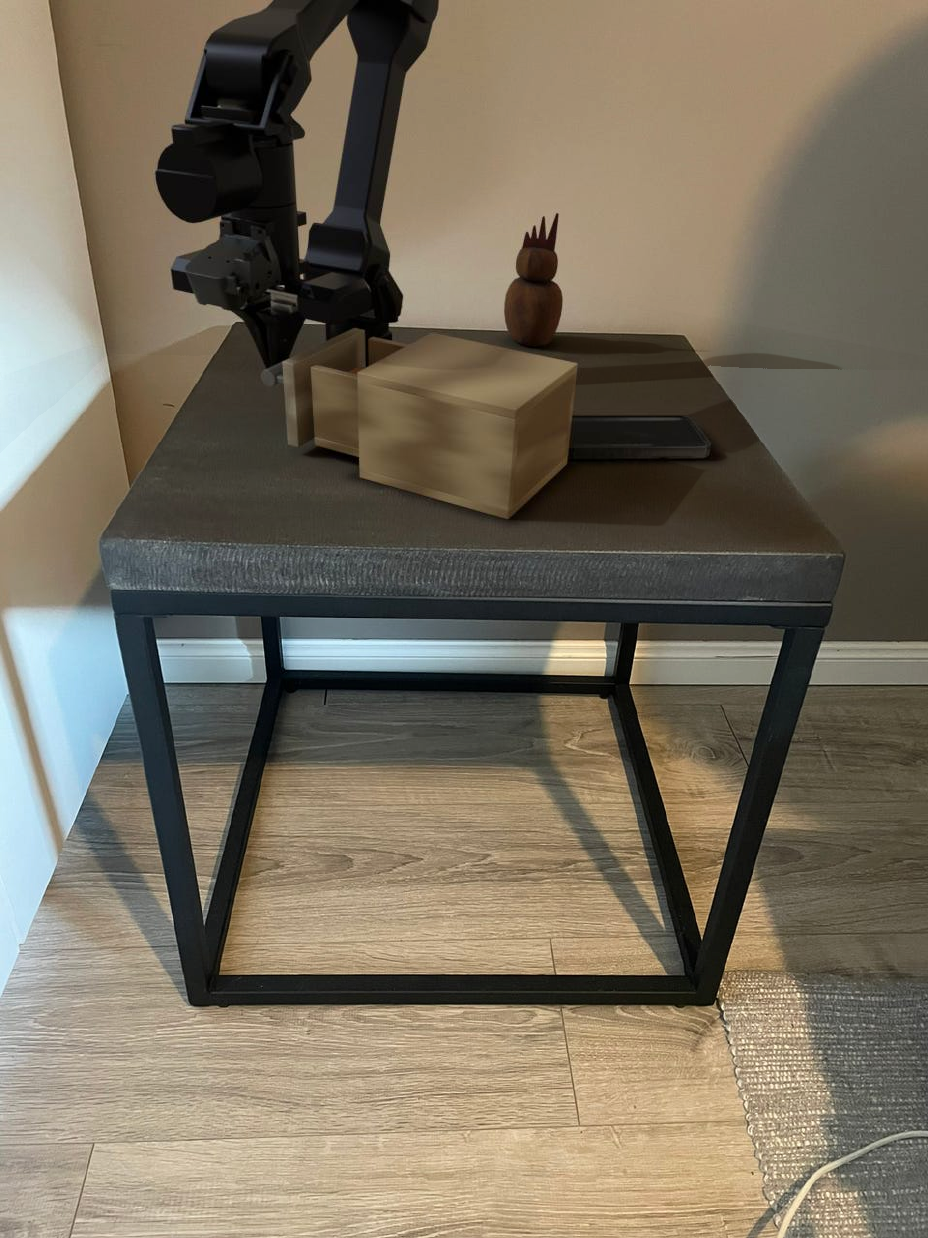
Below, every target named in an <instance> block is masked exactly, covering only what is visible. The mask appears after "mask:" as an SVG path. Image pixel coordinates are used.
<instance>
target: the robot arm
mask: <svg viewBox="0 0 928 1238" xmlns="http://www.w3.org/2000/svg"><path fill="white" fill-rule="evenodd" d="M439 3H440V0H272V1H271V2H270V3H269V4H268V5H267V7H265V8H263V9H262V10H260V11H258V12H255V13H251V14H248V15H244V16H240V17H238V18H233V19H231V21H229V22H227V23H226V24H224V25H222V26H220V27H219V28H217V29H215V30H213V32H212V33H211V34H210V36H209V37H208V38H207V39H206V42H205V44H204V47H203V49H202V50H203V53H202V56H201V60H200V63H199V67H198V70H197V74H196V78H195V81H194V85H193V88H192V92H191V95H190V99H189V103H188V105H187V109H186V113H185V116H184V123H178V124H172V126H171V128H170V129H171V137H172V143H170V144H168V146H166V147H164V149H163V150H162V151H161V153H160V156H159V158H158V160H157V165H156V166H157V167H156V170H155V172H154V176H155V177H154V178H155V184H156V188H157V191H158V193H159V196H160V198H161V200H162V202H163V204H164V205H165V206H166V208H167V209H168V210H169V212H171V213H172V215H174V216H175V217H176V218H177V219H179V220H180V221H183V222H185V223H189V224H198V223H203V222H207V221H209V220H213V219H217V218H219V217H220V221H219V226H218V227H219V237H218V239H216V241H214V242H212V243H210V244H208V245H206V246H205V248H202V249H199V250H195V251H191V252H187V253H184V254H182V255H178V256H176V257H175V259H174V261H173V263H172V266H171V268H170V274H171V283H172V289H173V290H175V291H178V292H183V293H188V294H191V295H192V294H193V295H194V298H195V300H196V302H197V303H198V304H199V305H202V306H206V305H211V306H214V307H219V308H221V309H222V310H225V311H228V312H229V311H230V312H232V313H233V314H234V315H235V316H237V317H238V318H239V319H240V320H242V322H243V323H244V324H245V326H246V329H247V330H248V332H249V333H250V335H251V337H252V340H253V342H254V344H255V346H256V349H257V351H258V354H259V356H260V358H261V361H262V362H263V365H264V368H265V369H268V368H270V367H272V366H274V365H276V364H278V363H280V362H283V361H285V360H287V359H289V358H290V356H291V353H292V351H293V348H294V346H295V343H296V341H297V338H298V336H299V334H300V332H301V330H302V328H303V326H304V324H305V323H306V322H305V321H306V320H308V321H312V322H317V323H321V324H324V327H325V342H326V341H328V340H330V339H332V338H334V337H336V336H338V335H341V334H343V333H345V332H347V331H349V330H351V329H353V328H357V329H362V330H365V365H366V368H367V367H368V366H369V345H368V339H369V338H371V337H377V338H381V339H386V340H390V341H393V332H392V330H390V324H396V323H398V322H399V317H400V316H401V314H402V309H403V303H404V293H403V292H402V290H401V289H400V287H399V285H398V284H397V282H396V280H395V279H394V277H393V276H392V273H391V272H390V262H391V251H390V248H389V246H388V243H387V239H386V237H385V234H384V231H383V228H382V225H381V221H382V214H383V210H384V209H383V208H384V202H385V196H386V190H387V185H388V178H389V173H390V167H391V161H392V156H393V150H394V144H395V139H396V132H397V127H398V121H399V116H400V109H401V103H402V97H403V92H404V86H405V82H406V81H405V80H406V76H407V73H408V72H409V70H410V69H411V68H412V67H413V65H415V63H416V62H417V60H418V59H419V58H420V57H421V56H422V54H423V53H424V52H425V50H426V49H427V47H428V44H429V40H430V36H431V33H432V29H433V24H434V21H435V20H436V18H437V17H438V11H439V5H440V4H439ZM345 18H346V27H347V30H348V33H349V35H350V38H351V41H352V44H353V47H354V50H355V53H356V64H355V65H356V66H355V70H354V71H355V72H354V79H353V84H352V90H351V96H350V101H349V102H350V104H349V108H348V116H347V122H346V127H345V134H344V139H343V146H342V151H341V152H342V153H341V158H340V164H339V170H338V176H337V183H336V190H335V196H334V200H333V201H334V202H333V207H332V210H331V212H330V213H329V214H328V216H327V217H326V218H325V219H324V221H323V222H312V224H311V226H310V228H309V229H308V237H307V238H308V239H307V240H308V241H307V248H306V251H305V256H304V259H303V258H301V257H300V256H301V255H300V239H299V228H300V227H302V226H306V225H307V224H308V223H307V211H301V210H298V204H297V203H298V202H297V187H296V186H297V185H296V183H297V182H296V168H295V167H296V165H295V149H294V141H296V140H301V139H304V138H305V136H306V131H305V129H304V128H303V126H302V125H301V124H300V123H299V122H298V121H297V120H295V119H294V118H293V116H292V114H293V112H295V110H296V109H297V107H298V106H299V105H300V102H301V100H302V99H303V97H304V95H305V93H306V92H307V90H308V88H309V86H310V84H311V83H312V81H313V78H312V69H311V68H312V67H311V61H312V59H313V57H314V55H315V54H316V53H317V51H318V50H319V49H320V47H322V45H323V44H324V43H325V42H326V41H327V40H328V39H329V37H330V36H331V35H332V34H333V32H334V31H335V30H336V29H337V27H338V26H339V25H340V24H341V23H342V22H343V20H344V19H345ZM301 275H302V278H301Z"/></svg>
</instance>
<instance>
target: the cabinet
mask: <svg viewBox="0 0 928 1238" xmlns="http://www.w3.org/2000/svg"><path fill="white" fill-rule="evenodd" d="M578 366H579V363H578V362H574V361H573V362H572V361H569V360H563V359H559V358H558V359H557V358H554V357H550V356H544V355H540V354H536V353H531V352H530V353H529V352H526V351H521V350H516V349H511V348H508V347H507V348H506V347H502V346H497V345H493V344H488V343H483V342H479V341H473V340H469V339H464V338H459V337H456V336H451V335H446V334H440V333H436V332H431V333H428V334H427V335H425V336H423V337H421V338H419V339H417V340H415V341H414V342H412V343H410V344H409V345H408V346H406V347H404V348H402V349H400V350H398V351H397V352H395V353H393V354H391V355H389V356H387V357H385V358H383V359H382V360H380V361H378V362H376V363H374V364H372V365H370V366H368V367H367V368H365V369H363V370H361V371H359V372H357V381H358V382H357V384H358V425H359V457H358V461H359V462H358V463H359V464H358V465H359V478H361V479H364V480H367V481H371V482H375V483H378V484H381V485H385V486H390V487H392V488H395V489H399V490H402V491H407V492H409V493H412V494H417V495H419V496H424V497H428V498H431V499H435V500H438V501H441V502H445V503H449V504H451V505H455V506H459V507H463V508H466V509H469V510H472V511H473V510H474V511H477V512H480V513H483V514H487V515H490V516H494V517H498V518H501V519H503V520H504V519H505V520H509V519H511V517H512V516H514V515H515V514H516V513H517V512H518V511H519V510H520V509H521V508H522V507H523V506H524V505H525V504H527V503H528V501H529V500H531V499H532V498H533V497H534V496H535V495H536V494H537V493H538V492H539V491H541V489H542V488H543V487H545V485H546V484H548V483H549V481H551V480H552V479H553V478H554V477H555V476H556V475H558V473H559V472H560V471H562V469H563V468H564V467H565V466H567V464H568V459H567V458H568V457H567V456H568V449H569V440H570V431H571V422H572V415H573V413H574V412H573V411H574V403H575V395H576V387H577V376H578Z"/></svg>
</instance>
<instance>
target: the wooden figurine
mask: <svg viewBox="0 0 928 1238" xmlns="http://www.w3.org/2000/svg"><path fill="white" fill-rule="evenodd" d="M559 215H560V214H559V213H558V212H555V215H554V218H553V222H552V224H551V227H550V230H549V232H548V235H547V227H546V216H545V215H543V216H542V217H541V222H540V227H539V232H538V234H537V226H536V225H533V226H532V230H531V234H530V233H529V231H526V232H525V234H524V237H523V242H522V246H521V248H520V249H519V251H518V254H517V256H516V258H515V259H516V260H515V271H516V274H517V275H518V277H516V278H514V279H513V280H512V281H511V283H510V284H509V286H508V288H507V291H506V293H505V298H504V305H503V315H504V321H505V323H504V324H505V326H506V330H507V332H508V335H509V337H510V338H511V340H513V341H514V342H515V343H517V344H518V345H522V346H526V347H542V346H546V345H549V343H550V342H552V340H553V338H554V336H555V334H556V332H557V329H558V327H559V325H560V321H561V317H562V312H563V311H562V310H563V299H564V298H563V292H562V289H561V288H560V286H559V284H558V283H557V282H555V281H554V280H553V279H554V278H555V277H556V275H557V272H558V267H559V259H558V258H559V257H558V254H557V252H556V250H555V249H556V243H557V235H558V227H559V225H558V224H559Z"/></svg>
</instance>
